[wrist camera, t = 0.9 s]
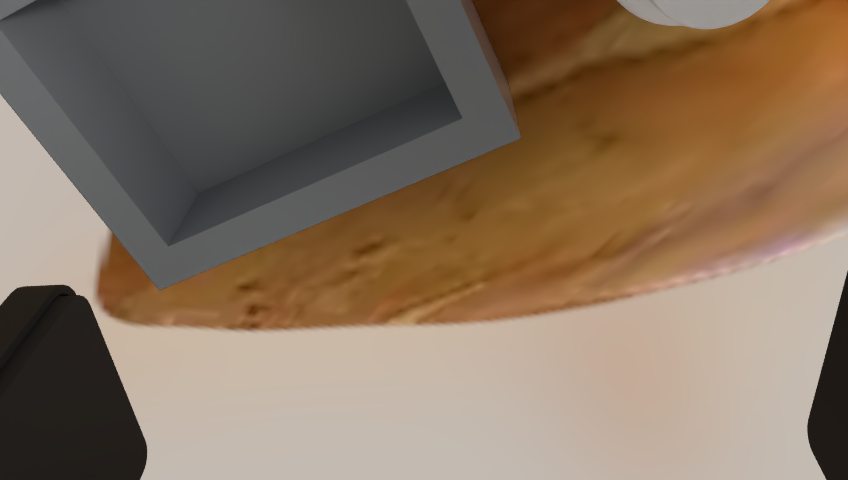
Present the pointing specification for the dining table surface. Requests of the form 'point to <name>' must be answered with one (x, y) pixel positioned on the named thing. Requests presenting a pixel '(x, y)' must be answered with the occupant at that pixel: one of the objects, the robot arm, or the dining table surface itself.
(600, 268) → the dining table surface
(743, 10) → the supplement bottle
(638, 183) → the dining table surface
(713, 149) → the dining table surface
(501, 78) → the box
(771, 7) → the dining table surface
